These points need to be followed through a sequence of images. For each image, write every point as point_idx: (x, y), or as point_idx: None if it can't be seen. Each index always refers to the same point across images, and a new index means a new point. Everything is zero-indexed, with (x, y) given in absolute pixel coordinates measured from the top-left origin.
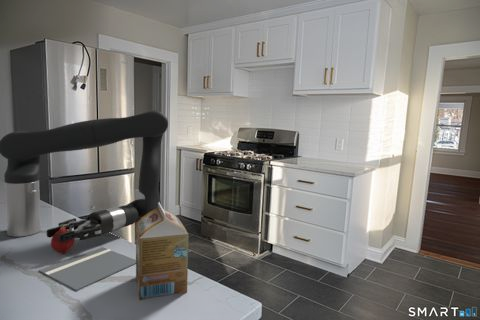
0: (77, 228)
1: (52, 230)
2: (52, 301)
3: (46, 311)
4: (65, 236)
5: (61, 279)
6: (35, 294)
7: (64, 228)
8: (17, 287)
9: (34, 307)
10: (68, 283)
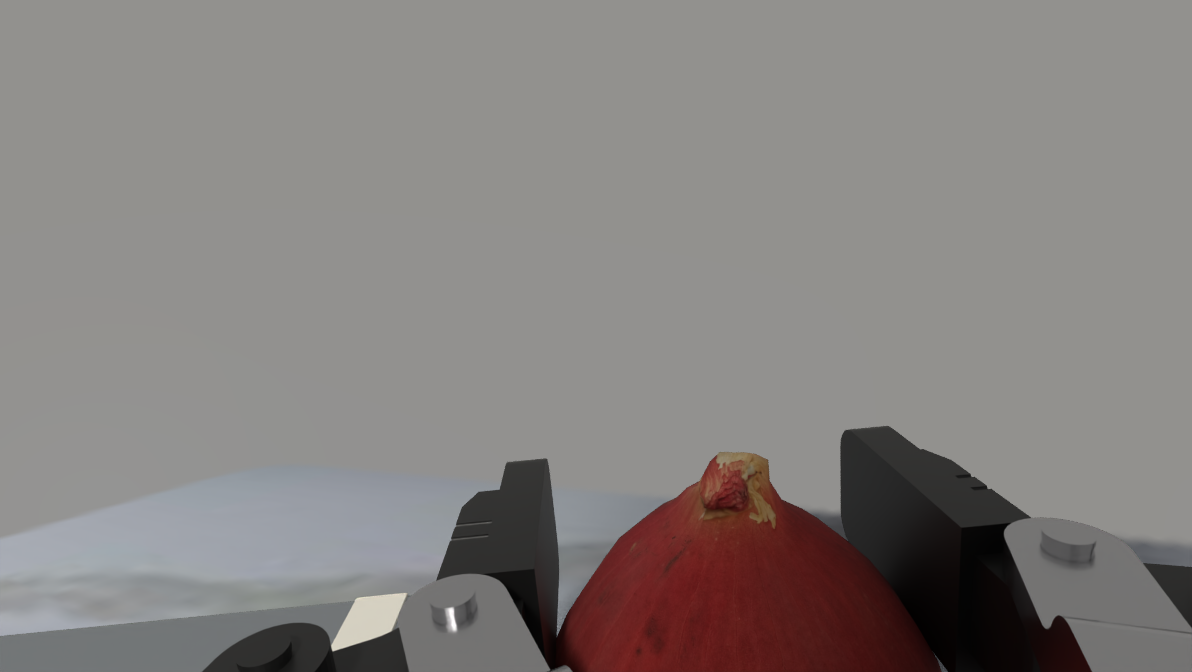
0: (542, 667)
1: (872, 472)
2: (99, 553)
3: (82, 525)
4: (461, 515)
5: (187, 629)
6: (256, 530)
7: (702, 494)
8: (421, 504)
9: (172, 510)
10: (83, 638)
